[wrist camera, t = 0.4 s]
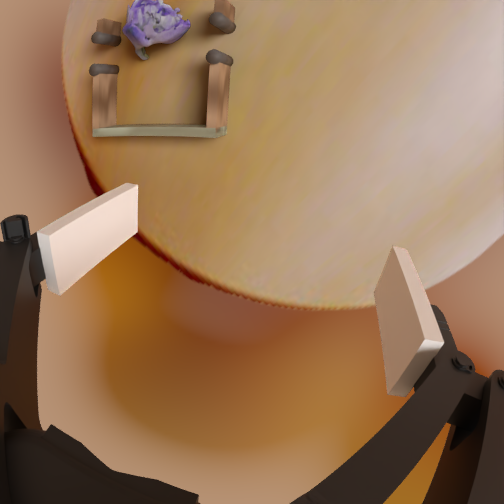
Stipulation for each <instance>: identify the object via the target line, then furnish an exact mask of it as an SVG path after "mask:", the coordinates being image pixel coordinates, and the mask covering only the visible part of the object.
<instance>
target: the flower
mask: <svg viewBox="0 0 504 504" xmlns="http://www.w3.org/2000/svg"><path fill="white" fill-rule="evenodd" d="M179 11H180V9H179V8H176V9H175V10H172V8H171V6H170V5H167V4H164V3H163V1H162V0H156V1H153V0H135V1H134V2H133V4H132V6H131V8H130V6H129V5H128V9H127V19H126V21H127V23H126V25H125V26H124V27H123V30H122V31H123V33H124V34H125V35H126V36H127V37H128V39H129V40H130V41H131V42H132V43H133V45H134V47H135V49H136V50H135V52H136V54H137V55H138V56H139V57H140V58H141V59H143V60H146V59H148V58H149V56H148V55H147V54H146V52H145V48H144V47H148V46H150V45H152V44H155V43H164V44H170V43H173V42H175V41H177V40H178V39H180V38H181V37H182V36H183V35H184V34H185V33H186V32H187V31H188V29H189V28H190V21H189V20H188V19H187V21H184V20H182V19H181V17H182V16H181V15H180V14H179V15H177V14H176V13H177V12H179Z"/></svg>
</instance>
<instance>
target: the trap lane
mask: <svg viewBox="0 0 504 504" xmlns="http://www.w3.org/2000/svg"><path fill="white" fill-rule="evenodd" d="M234 15H235V7H234V6H233V5H231V4H230V3H229V2H228V1H227V0H215V6H214V13H212V14H211V15H210V17H209V22H210V23H211V24H212V25H214V26H215V27H217V28H219V29H220V30H222V31H223V32H225V33H228V34H229V33H232V32H234V31H235V29H236V25H235V24H234ZM120 31H121V23H120V22H116V21H112V20H108V19H100V20H98V21H97V30H96V32H95V33H94V34H93V35H92V38H91V40H92V42H93V43H97V44H104V45H111V46H118V45H119V44H120V42H121V37H120ZM206 60H207V61H208V62H209V63H210V68H209V84H208V102H207V123H206V125H198V124H132V125H116V100H117V74H118V72H119V67H118V66H117V65H108V64H92V65H91V67H90V69H89V73H90V75H92V76H93V94H92V128H93V137H104V136H185V137H208V138H217V137H220V136H223V135H226V134H227V115H228V98H229V82H230V67H231V66H232V64H233V59H232V57H230V56H229V55H226V54H224V53H222V52H220V51H218V50H215V49H213V50H210V51H209V52H208V53H207V55H206Z"/></svg>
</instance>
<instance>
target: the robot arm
mask: <svg viewBox="0 0 504 504" xmlns="http://www.w3.org/2000/svg"><path fill="white" fill-rule="evenodd" d="M0 224H1V229H2V234H3V239H4V242H1V241H0V504H200V503H198V497H199V495H198V494H195V493H192V492H188V491H186V490H183V489H180V488H177V487H174V486H172V485H169V484H167V483H164V482H161V481H159V480H155V479H150V478H145V477H140V476H134V475H130V474H125V473H121V472H117V471H114V470H111V469H110V468H109V467H107V466H106V465H105V464H104V463H103V462H102V461H100V460H99V459H98V458H97V457H96V456H95V455H94V454H93V453H91V452H90V451H89V450H88V449H87V448H86V447H85V446H84V445H83V444H82V443H81V442H79V441H77V440H75V439H74V438H72V437H71V436H69V435H67V434H66V433H64V432H63V431H61V430H59V429H58V428H56V427H55V426H53V425H50V426H49V428H48V429H47V431H43V430H42V427H41V424H40V421H39V414H38V396H37V342H38V323H39V312H40V301H41V300H40V299H41V292H42V289H41V284H40V282H41V281H43V280H44V279H46V283H47V287H48V290H49V291H51V292H53V293H55V294H57V295H61V294H63V293H64V292H65V291H66V290H67V289H68V288H69V287H71V286H72V285H73V284H74V283H75V282H76V281H77V280H79V279H80V278H81V277H82V276H83V275H85V274H86V273H87V272H88V271H89V270H90V269H92V268H93V267H94V266H95V265H97V264H98V263H99V262H100V261H101V260H103V259H104V258H105V257H106V256H107V255H109V254H110V253H111V252H113V251H114V250H115V249H116V248H117V247H119V246H120V245H121V244H123V243H124V242H125V241H126V240H128V239H129V238H130V237H132V236H133V235H134V234H135V233H137V232H138V185H136V184H130V183H125V184H123V185H121V186H119V187H117V188H115V189H113V190H111V191H109V192H107V193H105V194H103V195H101V196H99V197H97V198H95V199H93V200H91V201H90V202H88V203H86V204H84V205H82V206H80V207H79V208H77V209H75V210H73V211H71V212H69V213H68V214H66V215H64V216H63V217H61V218H59V219H57V220H55V221H54V222H52V223H50V224H49V225H47V226H45V227H43V228H42V229H40V230H38V231H37V232H36V233H34V234H32V235H30V230H29V223H28V217H27V216H26V215H13V216H10V217H7V218H5V219H4V220H3V221H2V222H1V223H0ZM374 296H375V302H376V308H377V314H378V320H379V327H380V334H381V341H382V348H383V356H384V365H385V374H386V383H387V394H388V395H395V396H402V397H406V396H407V395H408V393H409V392H410V391H411V389H412V388H413V387H414V391H415V393H414V394H413V395H412V396H411V398H410V399H409V400H408V401H407V402H406V403H405V404H404V406H403V407H402V408H401V409H400V410H399V411H398V412H397V413H396V414H395V415H394V416H393V417H392V418H391V419H390V421H388V422H387V423H386V424H385V426H384V427H383V428H382V429H381V430H380V431H379V432H378V433H377V434H375V435H374V437H372V439H370V440H369V441H368V442H367V443H366V444H365V445H364V446H363V447H362V448H361V449H360V450H359V451H357V452H356V453H355V454H354V455H353V456H352V457H351V458H350V459H348V460H347V461H346V462H345V463H344V464H343V465H341V466H340V467H339V468H338V469H337V470H335V471H334V472H333V473H332V474H331V475H329V476H328V477H327V478H326V479H324V480H323V481H322V482H321V483H319V484H318V485H317V486H315V487H314V488H313V489H311V490H310V491H309V492H307V493H306V494H304V495H302V496H301V497H299V498H297V499H296V500H294V501H293V502H291V503H290V504H383V503H384V502H385V501H386V499H387V498H388V497H389V496H390V495H391V494H392V493H393V492H394V491H395V490H396V488H397V487H398V486H399V485H400V484H401V483H402V481H403V480H404V479H405V478H406V477H407V475H408V474H409V473H410V472H411V470H412V469H413V468H414V467H415V466H416V464H417V463H418V462H419V460H420V459H421V458H422V456H423V455H424V454H425V452H426V451H427V450H428V448H429V447H430V446H431V444H432V443H433V441H434V440H435V438H436V437H437V435H438V434H439V433H440V431H441V430H442V428H443V427H444V425H445V423H446V422H447V423H450V424H451V427H450V430H449V433H448V437H447V440H446V443H445V446H444V449H443V452H442V455H441V458H440V461H439V463H438V466H437V469H436V472H435V474H434V477H433V479H432V482H431V485H430V487H429V490H428V492H427V494H426V497H425V499H424V501H423V503H422V504H504V371H502V370H495V371H494V372H493V373H492V374H491V376H490V377H489V378H487V377H485V376H482V375H480V374H478V373H476V372H475V366H474V364H473V362H472V360H471V359H470V358H469V357H468V356H467V355H465V354H464V353H462V352H460V351H458V350H457V347H456V345H455V342H454V339H453V337H452V334H451V332H450V331H449V330H450V329H449V327H448V325H447V321H446V319H445V317H444V315H443V313H442V312H441V311H440V310H439V308H438V307H437V306H435V305H431V304H430V303H429V300H428V298H427V295H426V293H425V290H424V288H423V285H422V283H421V281H420V278H419V276H418V274H417V271H416V269H415V267H414V265H413V262H412V260H411V258H410V256H409V254H408V251H407V249H404V248H400V247H397V246H392V248H391V251H390V254H389V256H388V259H387V261H386V264H385V267H384V269H383V272H382V274H381V276H380V279H379V281H378V284H377V286H376V288H375V291H374Z"/></svg>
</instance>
